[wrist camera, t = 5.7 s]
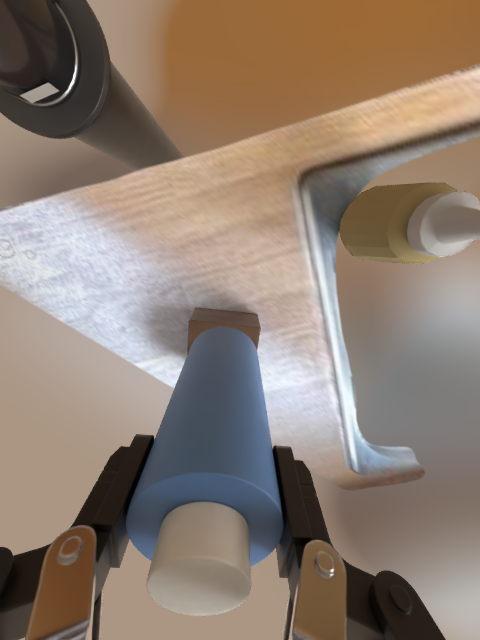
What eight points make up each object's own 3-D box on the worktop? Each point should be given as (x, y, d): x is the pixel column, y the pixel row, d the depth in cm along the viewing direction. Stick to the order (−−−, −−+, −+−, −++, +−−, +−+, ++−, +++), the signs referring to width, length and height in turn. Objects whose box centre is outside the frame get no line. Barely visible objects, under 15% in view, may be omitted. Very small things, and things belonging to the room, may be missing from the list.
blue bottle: (190, 322, 19) (93, 522, 6) (262, 330, 19) (311, 535, 6) (187, 383, 21) (109, 633, 8) (252, 389, 21) (276, 639, 8)
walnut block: (195, 307, 36) (188, 320, 31) (257, 314, 36) (260, 327, 32) (192, 362, 39) (186, 381, 34) (249, 368, 39) (251, 387, 35)
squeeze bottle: (378, 175, 30) (559, 111, 13) (402, 234, 32) (581, 244, 16) (318, 215, 32) (412, 205, 15) (346, 269, 34) (453, 312, 17)
